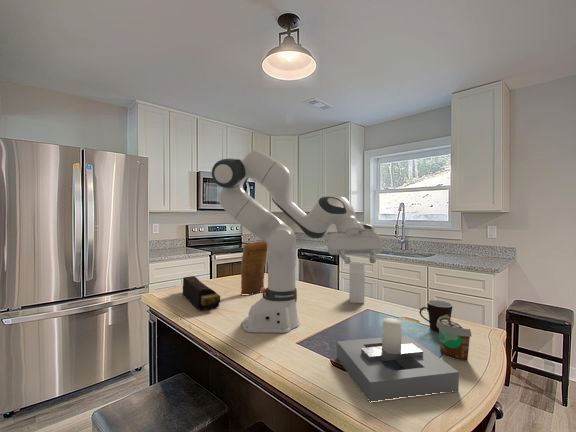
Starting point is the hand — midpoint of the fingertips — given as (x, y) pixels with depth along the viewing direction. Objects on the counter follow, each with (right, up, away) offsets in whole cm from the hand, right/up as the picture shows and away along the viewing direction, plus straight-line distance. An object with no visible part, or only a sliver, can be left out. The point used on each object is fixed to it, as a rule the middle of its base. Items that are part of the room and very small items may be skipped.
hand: (360, 262), depth 103 cm
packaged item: (-69, -26, +45) cm, 86 cm away
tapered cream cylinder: (+4, -21, -19) cm, 29 cm away
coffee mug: (+31, -28, +12) cm, 43 cm away
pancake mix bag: (-43, -26, +59) cm, 78 cm away
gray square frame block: (+4, -28, -19) cm, 34 cm away
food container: (+26, -28, -8) cm, 39 cm away
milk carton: (+9, -27, +46) cm, 54 cm away
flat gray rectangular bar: (+4, -23, -19) cm, 30 cm away
